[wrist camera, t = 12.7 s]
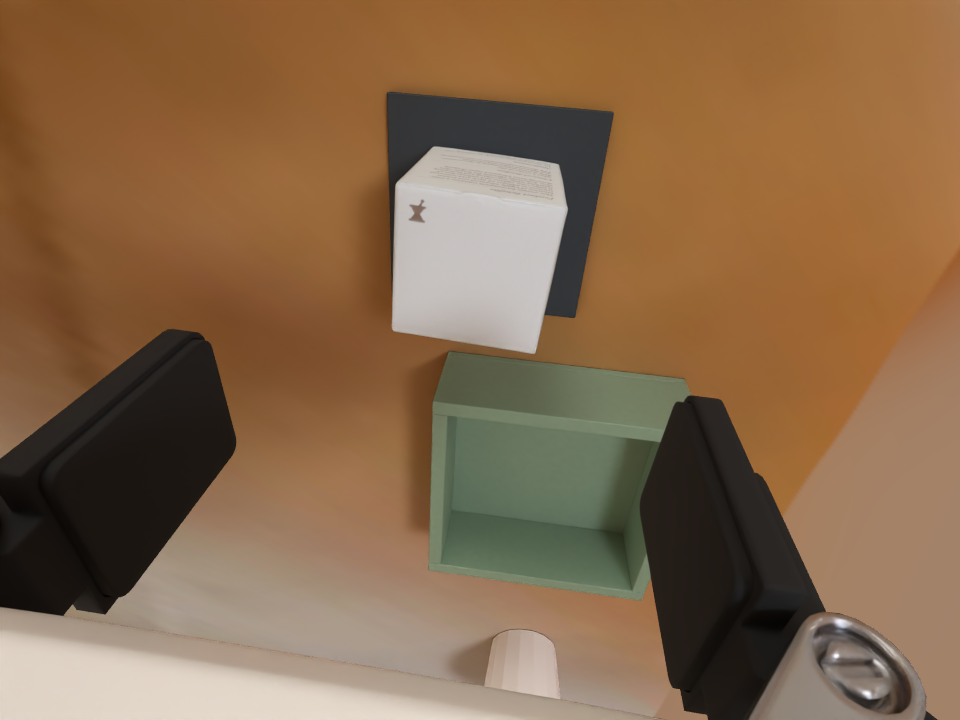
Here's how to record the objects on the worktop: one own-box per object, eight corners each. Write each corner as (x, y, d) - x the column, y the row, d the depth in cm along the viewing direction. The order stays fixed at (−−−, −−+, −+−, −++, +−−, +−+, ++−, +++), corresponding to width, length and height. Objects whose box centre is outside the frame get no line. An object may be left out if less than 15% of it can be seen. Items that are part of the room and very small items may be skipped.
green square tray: (448, 350, 30) (432, 401, 25) (684, 378, 29) (708, 435, 25) (441, 510, 37) (428, 570, 33) (630, 536, 36) (641, 601, 32)
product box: (423, 265, 27) (385, 332, 20) (432, 141, 23) (390, 177, 17) (539, 284, 26) (536, 358, 20) (564, 162, 23) (570, 206, 17)
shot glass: (574, 661, 45) (579, 754, 39) (506, 673, 48) (500, 762, 42) (541, 618, 43) (540, 711, 37) (470, 633, 45) (459, 722, 39)
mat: (389, 91, 23) (386, 92, 22) (613, 111, 22) (614, 112, 22) (393, 294, 28) (391, 297, 28) (574, 315, 28) (574, 318, 27)
